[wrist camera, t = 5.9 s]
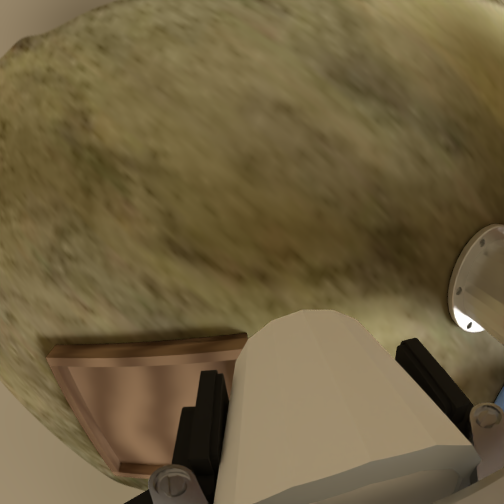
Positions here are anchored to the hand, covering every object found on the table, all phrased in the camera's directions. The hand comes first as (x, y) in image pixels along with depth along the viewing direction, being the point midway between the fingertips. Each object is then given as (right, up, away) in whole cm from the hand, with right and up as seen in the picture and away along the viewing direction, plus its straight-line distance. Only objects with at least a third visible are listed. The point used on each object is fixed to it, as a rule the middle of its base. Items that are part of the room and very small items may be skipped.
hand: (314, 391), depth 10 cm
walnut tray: (-12, -13, +20) cm, 26 cm away
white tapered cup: (0, 0, +1) cm, 1 cm away
